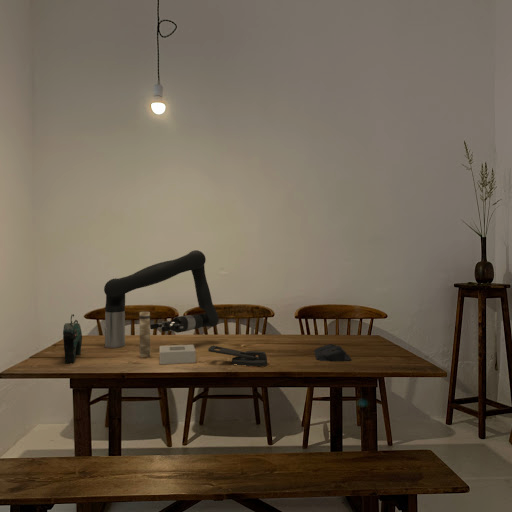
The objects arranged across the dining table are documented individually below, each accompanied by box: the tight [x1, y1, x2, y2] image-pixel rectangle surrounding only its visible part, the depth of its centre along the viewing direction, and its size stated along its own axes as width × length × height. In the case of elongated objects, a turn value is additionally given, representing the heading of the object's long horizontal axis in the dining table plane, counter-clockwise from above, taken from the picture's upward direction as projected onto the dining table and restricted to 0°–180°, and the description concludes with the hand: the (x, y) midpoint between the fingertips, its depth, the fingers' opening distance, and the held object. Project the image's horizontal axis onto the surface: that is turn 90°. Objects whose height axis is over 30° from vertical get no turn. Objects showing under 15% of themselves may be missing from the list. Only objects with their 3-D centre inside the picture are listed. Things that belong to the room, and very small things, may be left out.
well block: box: [159, 344, 197, 365], centre depth 206 cm, size 15×13×5 cm
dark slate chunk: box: [313, 343, 352, 362], centre depth 215 cm, size 15×22×5 cm
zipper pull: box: [207, 345, 268, 367], centre depth 200 cm, size 9×7×25 cm
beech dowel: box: [139, 311, 151, 358], centre depth 211 cm, size 5×5×20 cm
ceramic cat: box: [62, 313, 83, 365], centre depth 207 cm, size 20×6×20 cm, turn 9°
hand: (156, 328), depth 216 cm, fingers open, 8 cm apart
